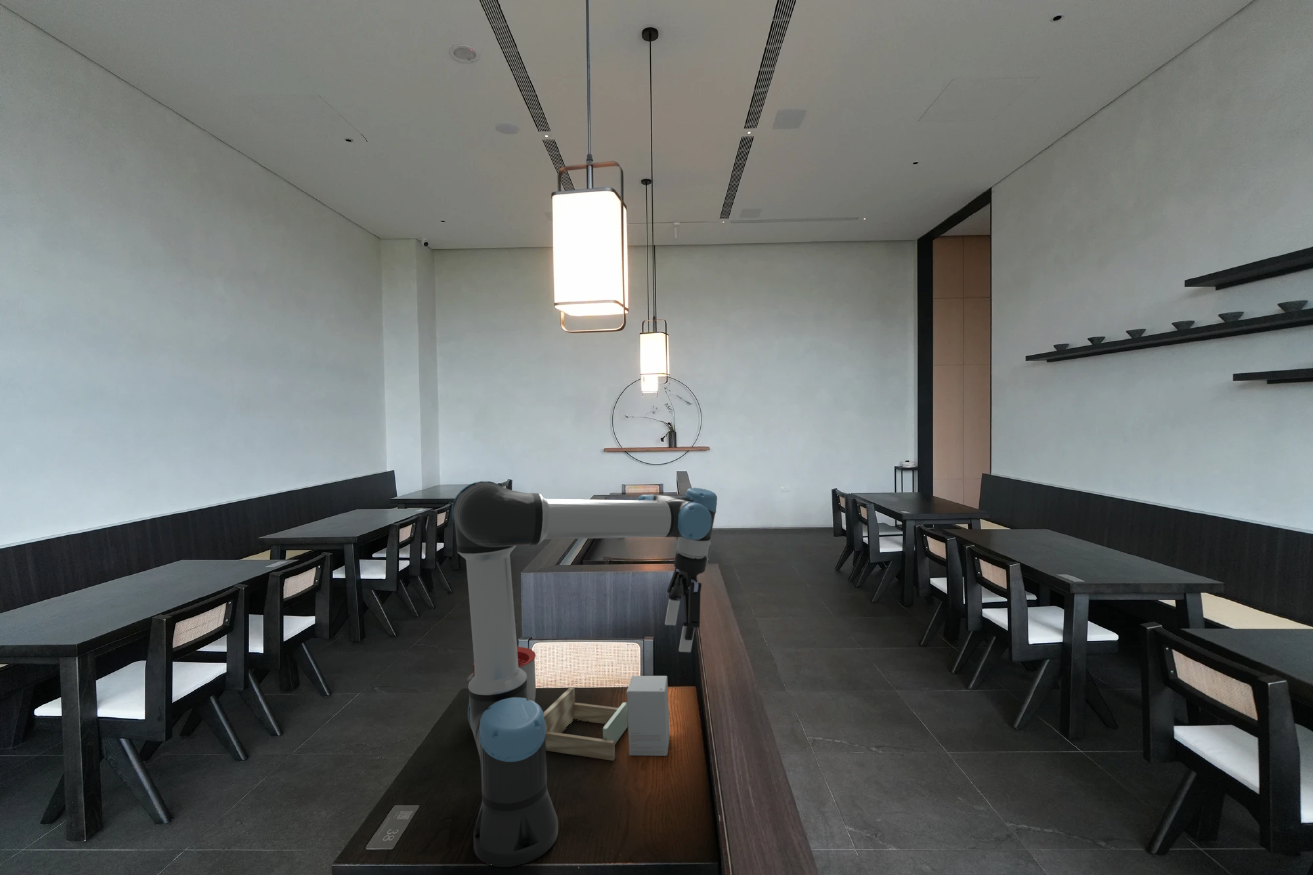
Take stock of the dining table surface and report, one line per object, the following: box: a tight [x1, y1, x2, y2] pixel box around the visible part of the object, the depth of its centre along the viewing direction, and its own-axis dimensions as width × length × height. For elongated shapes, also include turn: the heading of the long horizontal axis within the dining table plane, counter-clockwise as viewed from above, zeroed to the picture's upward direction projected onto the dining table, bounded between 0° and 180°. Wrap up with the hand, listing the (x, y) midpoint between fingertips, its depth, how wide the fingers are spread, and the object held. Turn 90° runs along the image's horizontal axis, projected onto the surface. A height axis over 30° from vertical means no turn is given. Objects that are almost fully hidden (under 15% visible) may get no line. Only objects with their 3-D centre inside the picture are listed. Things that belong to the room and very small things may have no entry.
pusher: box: [602, 701, 628, 745], centre depth 141 cm, size 13×1×6 cm, turn 162°
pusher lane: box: [543, 686, 628, 761], centre depth 143 cm, size 16×18×8 cm
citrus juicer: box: [467, 646, 537, 703], centre depth 151 cm, size 16×17×20 cm
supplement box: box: [625, 675, 671, 757], centre depth 138 cm, size 9×9×15 cm
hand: (677, 637), depth 143 cm, fingers open, 13 cm apart
